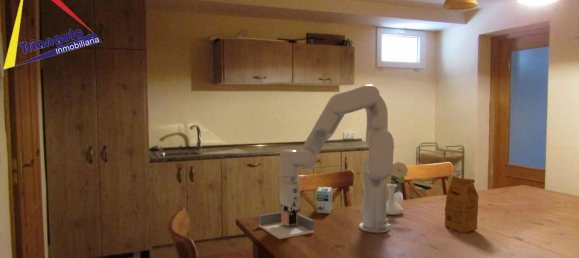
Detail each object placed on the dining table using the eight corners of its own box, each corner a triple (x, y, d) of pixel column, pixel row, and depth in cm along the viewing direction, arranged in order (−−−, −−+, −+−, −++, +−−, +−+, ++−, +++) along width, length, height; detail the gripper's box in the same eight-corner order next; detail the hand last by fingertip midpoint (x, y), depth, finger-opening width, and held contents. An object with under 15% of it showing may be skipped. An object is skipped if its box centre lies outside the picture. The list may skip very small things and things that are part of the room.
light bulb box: (330, 213, 192) (330, 191, 191) (316, 213, 193) (316, 190, 193) (332, 208, 202) (332, 186, 202) (318, 207, 204) (319, 186, 203)
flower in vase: (377, 215, 189) (377, 162, 188) (381, 209, 200) (381, 159, 198) (405, 218, 184) (406, 164, 183) (408, 212, 195) (409, 160, 193)
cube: (287, 225, 166) (287, 213, 166) (281, 222, 171) (281, 210, 170) (297, 224, 169) (297, 211, 168) (291, 221, 173) (291, 209, 173)
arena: (314, 232, 164) (314, 220, 164) (279, 239, 156) (279, 226, 156) (291, 221, 180) (291, 210, 179) (259, 226, 172) (259, 215, 171)
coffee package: (459, 223, 177) (460, 173, 175) (481, 232, 165) (482, 178, 163) (440, 225, 173) (441, 175, 172) (461, 234, 162) (462, 180, 160)
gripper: (307, 181, 163) (307, 226, 164) (287, 175, 178) (287, 216, 179) (291, 183, 159) (291, 229, 160) (271, 176, 174) (272, 218, 175)
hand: (289, 221), depth 170 cm, fingers closed on cube, 5 cm apart
